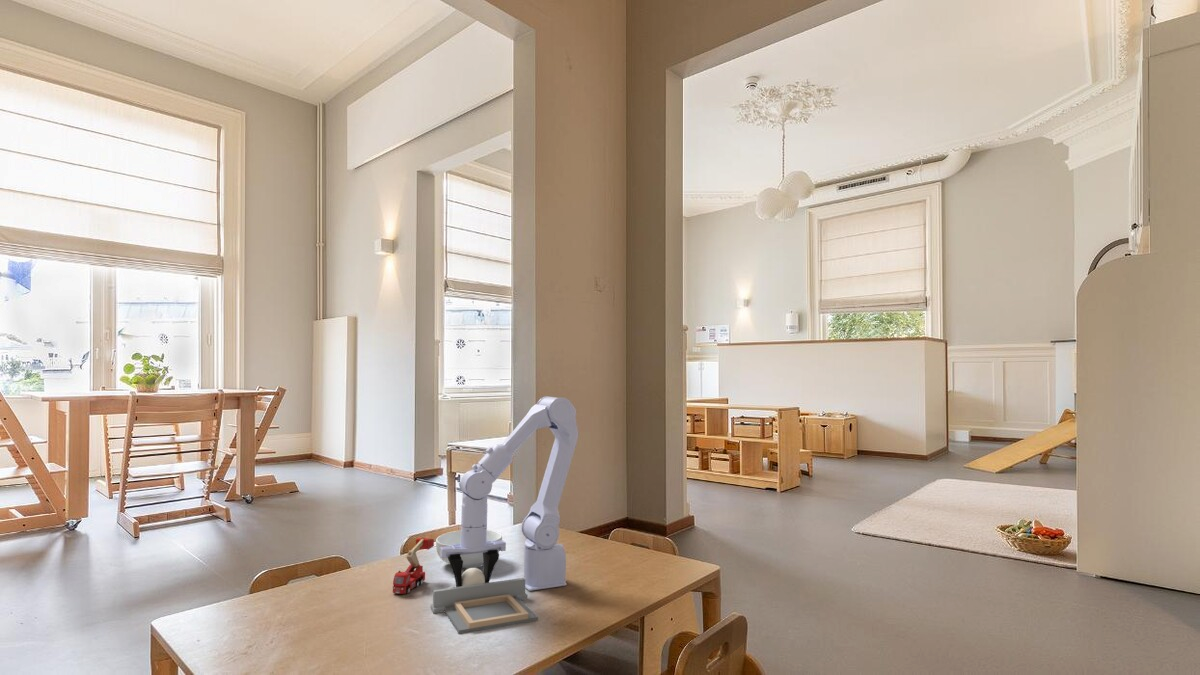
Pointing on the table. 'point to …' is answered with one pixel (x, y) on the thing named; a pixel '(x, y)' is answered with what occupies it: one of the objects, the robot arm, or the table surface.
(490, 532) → the cereal bowl
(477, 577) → the ball
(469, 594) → the grey barrier bar
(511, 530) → the table surface
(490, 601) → the resting mat
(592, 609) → the table surface
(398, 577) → the toy fire truck
